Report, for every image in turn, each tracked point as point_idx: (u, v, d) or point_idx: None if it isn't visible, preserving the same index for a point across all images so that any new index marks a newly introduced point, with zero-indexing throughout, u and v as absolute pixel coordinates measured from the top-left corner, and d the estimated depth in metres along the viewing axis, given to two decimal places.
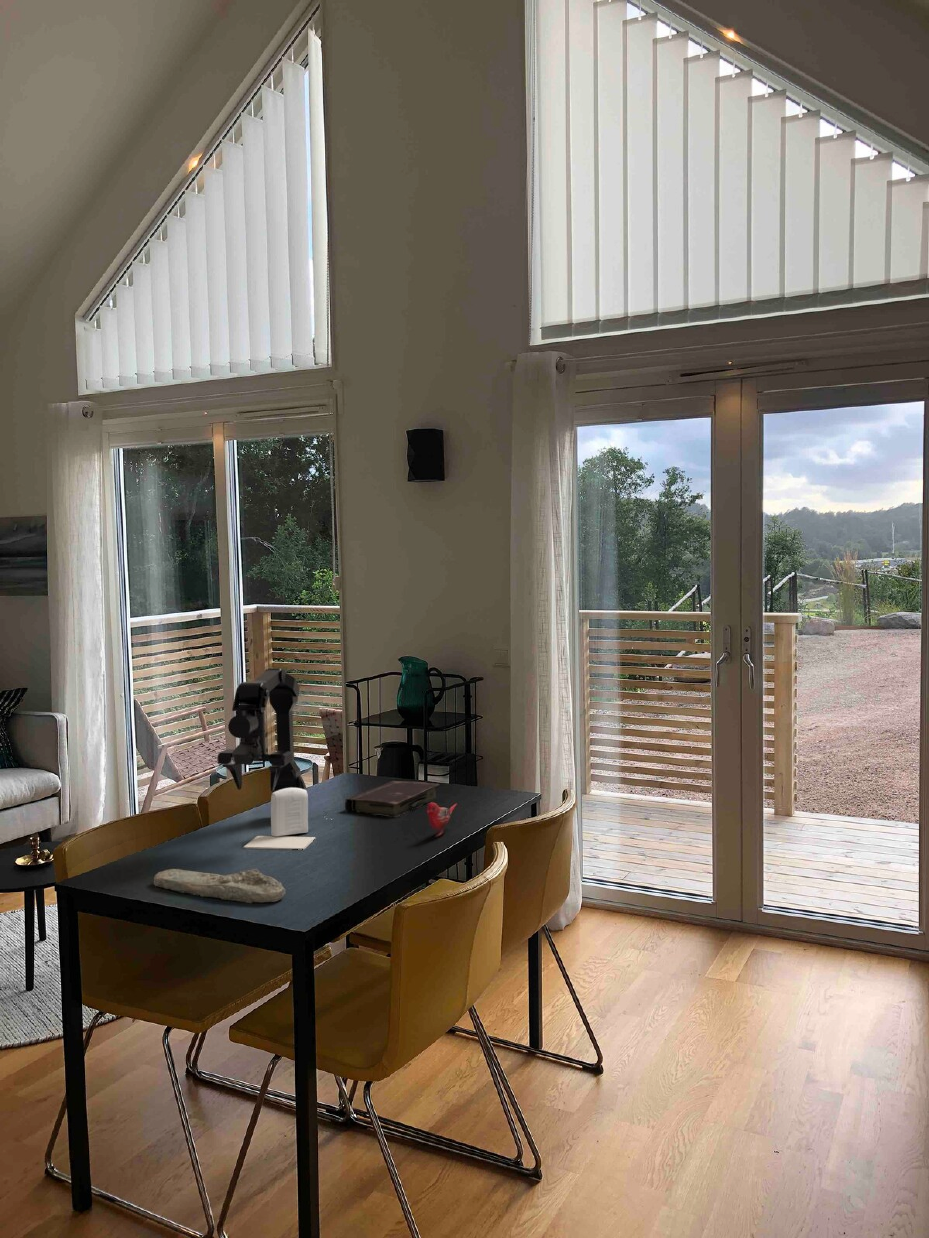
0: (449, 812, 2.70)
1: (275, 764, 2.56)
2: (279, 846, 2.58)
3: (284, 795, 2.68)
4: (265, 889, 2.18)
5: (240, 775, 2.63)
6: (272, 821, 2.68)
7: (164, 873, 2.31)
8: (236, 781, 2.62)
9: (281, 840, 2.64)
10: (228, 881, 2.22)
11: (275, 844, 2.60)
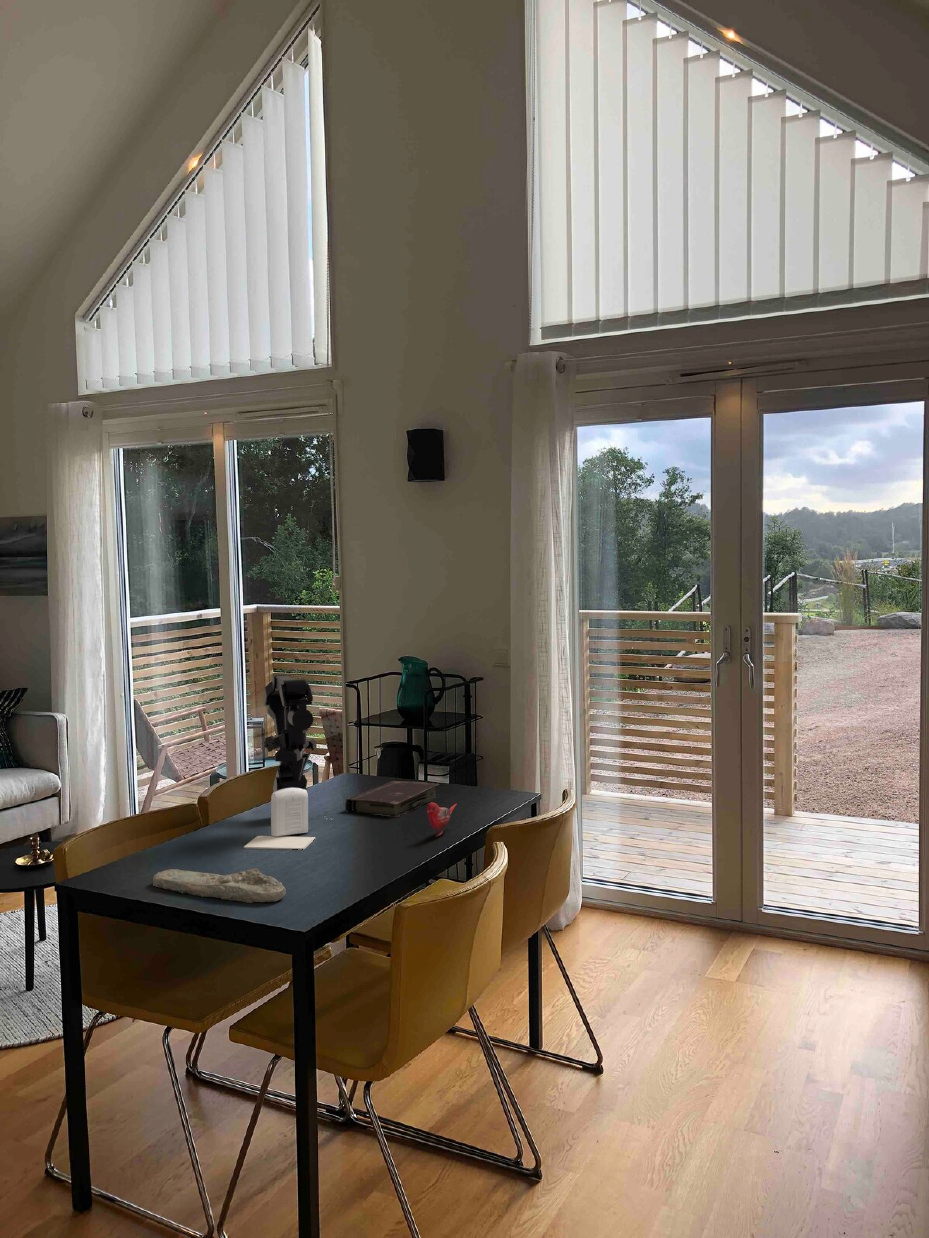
0: (449, 812, 2.70)
1: None
2: (279, 846, 2.58)
3: (284, 796, 2.68)
4: (266, 889, 2.18)
5: None
6: (272, 821, 2.67)
7: (163, 873, 2.31)
8: None
9: (281, 840, 2.64)
10: (228, 881, 2.22)
11: (275, 844, 2.60)
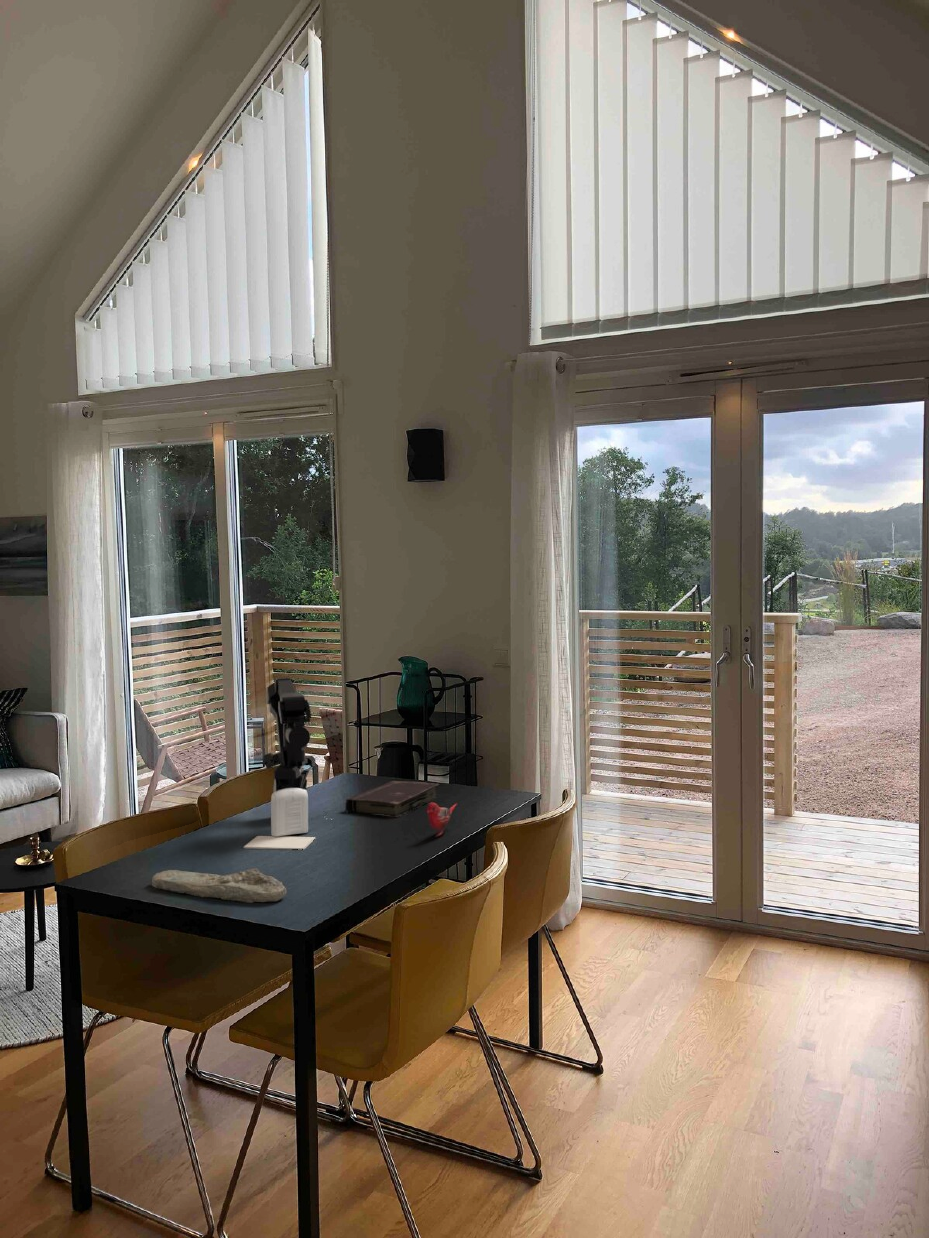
0: (449, 812, 2.70)
1: None
2: (279, 846, 2.58)
3: (284, 796, 2.68)
4: (266, 888, 2.18)
5: None
6: (272, 821, 2.67)
7: (162, 874, 2.31)
8: None
9: (281, 840, 2.64)
10: (228, 881, 2.22)
11: (275, 844, 2.60)
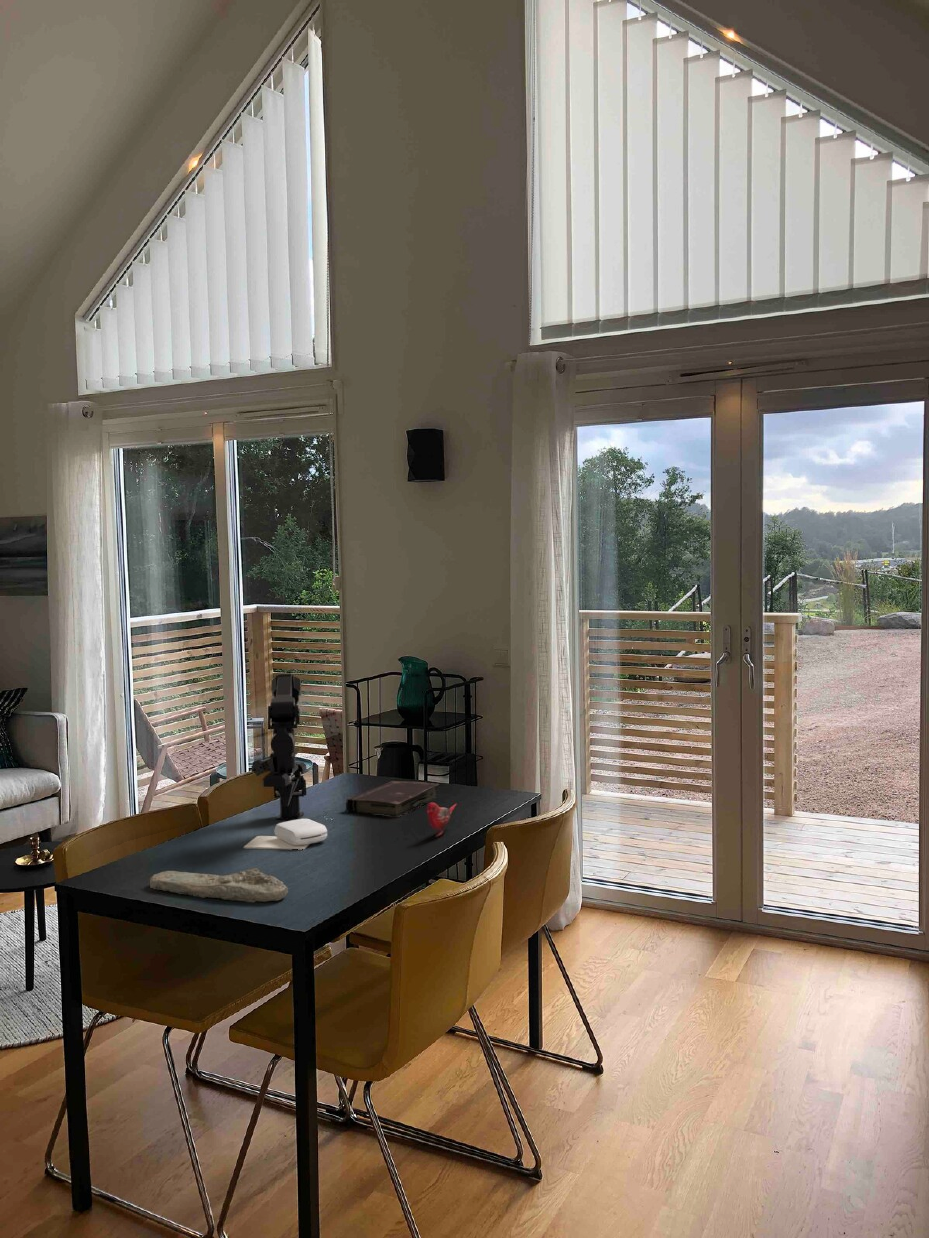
0: (449, 812, 2.70)
1: None
2: (279, 846, 2.58)
3: (302, 844, 2.59)
4: (268, 888, 2.19)
5: None
6: (280, 834, 2.62)
7: (160, 875, 2.30)
8: None
9: (281, 840, 2.64)
10: (229, 881, 2.22)
11: (275, 844, 2.60)
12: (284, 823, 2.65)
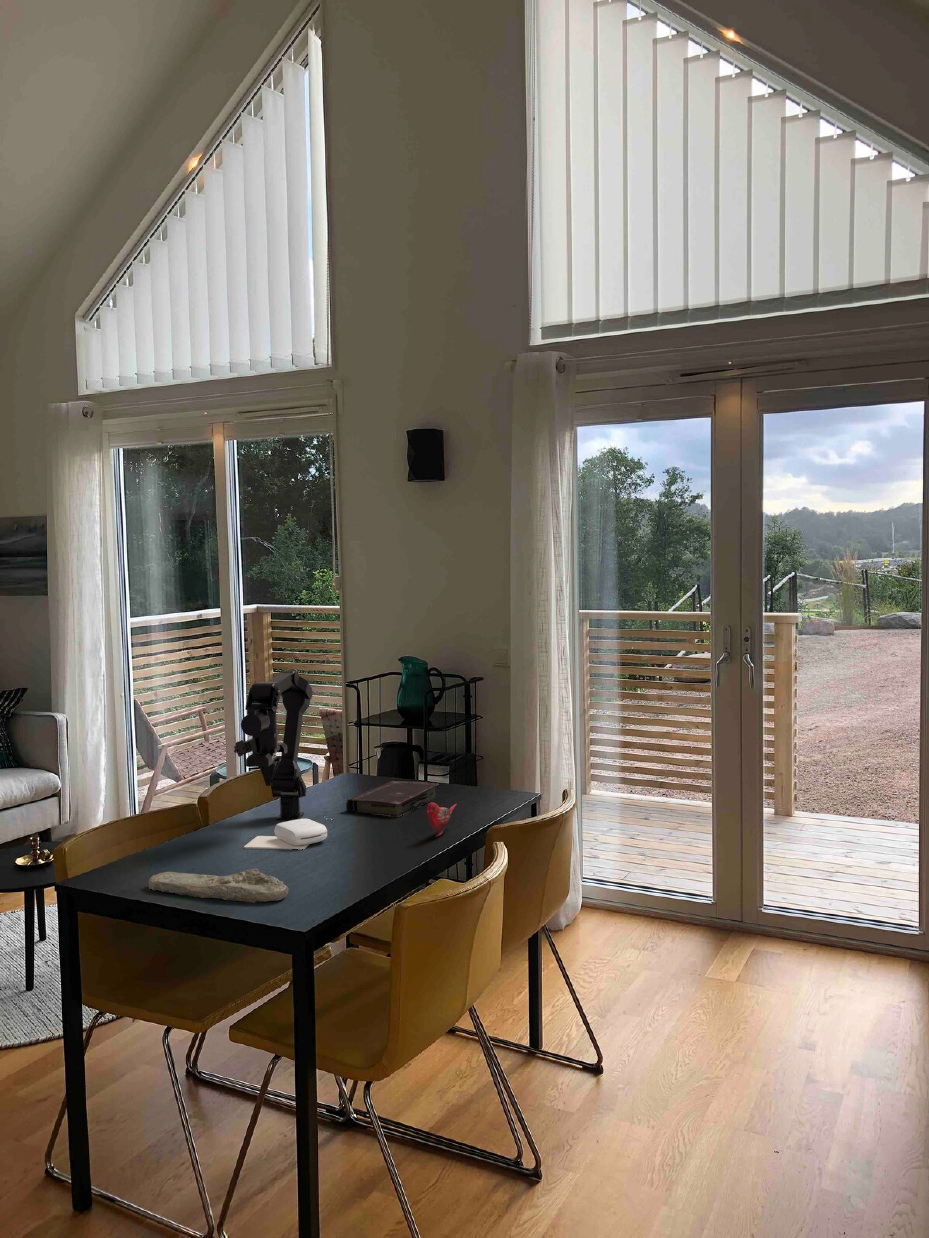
0: (449, 812, 2.70)
1: None
2: (279, 846, 2.58)
3: (302, 844, 2.59)
4: (268, 888, 2.19)
5: None
6: (280, 834, 2.62)
7: (159, 876, 2.29)
8: None
9: (281, 840, 2.64)
10: (229, 881, 2.22)
11: (275, 844, 2.60)
12: (284, 823, 2.65)
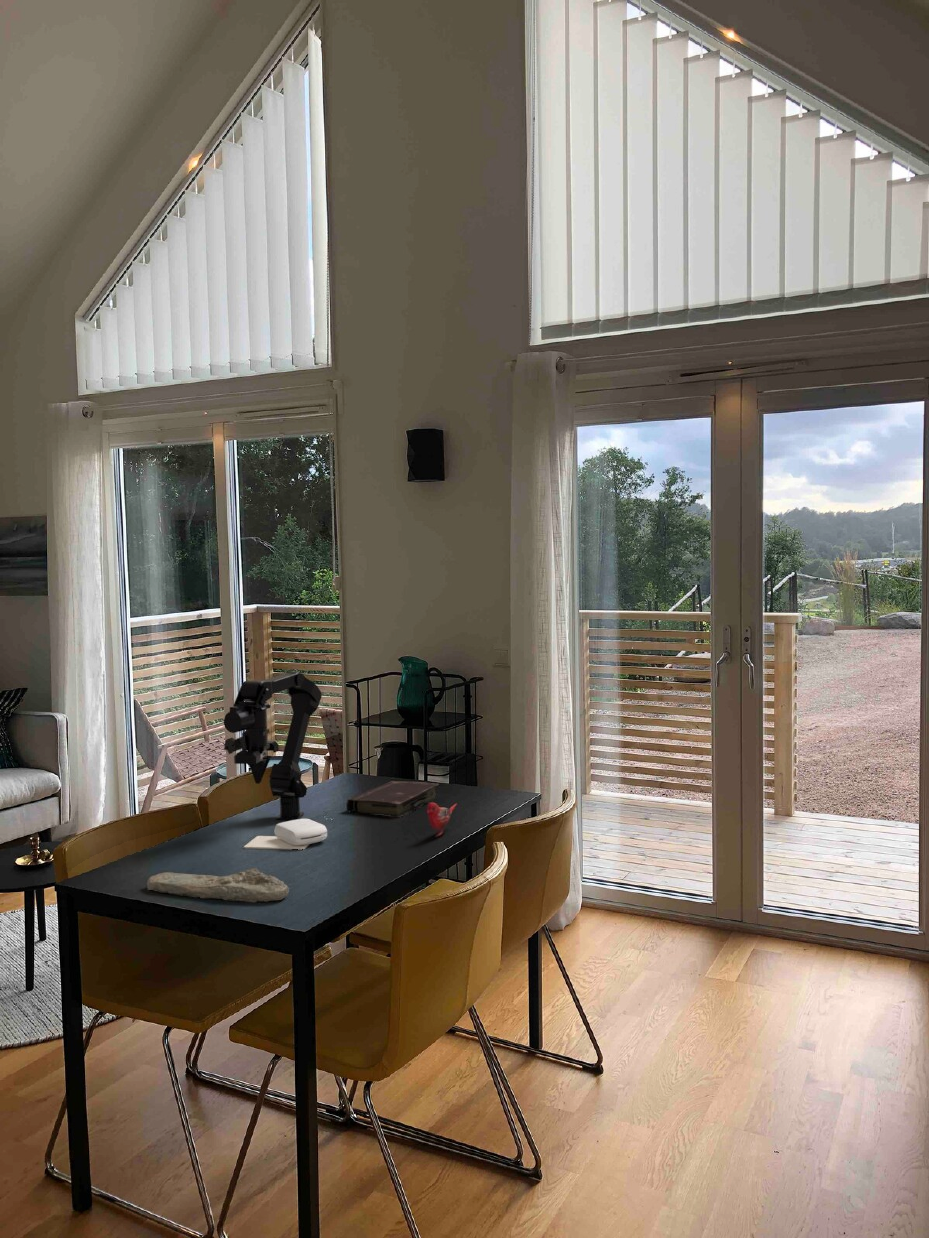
0: (449, 812, 2.70)
1: None
2: (279, 846, 2.58)
3: (302, 844, 2.59)
4: (269, 888, 2.19)
5: None
6: (280, 834, 2.62)
7: (158, 877, 2.29)
8: None
9: (281, 840, 2.64)
10: (229, 882, 2.22)
11: (275, 844, 2.60)
12: (284, 823, 2.65)
